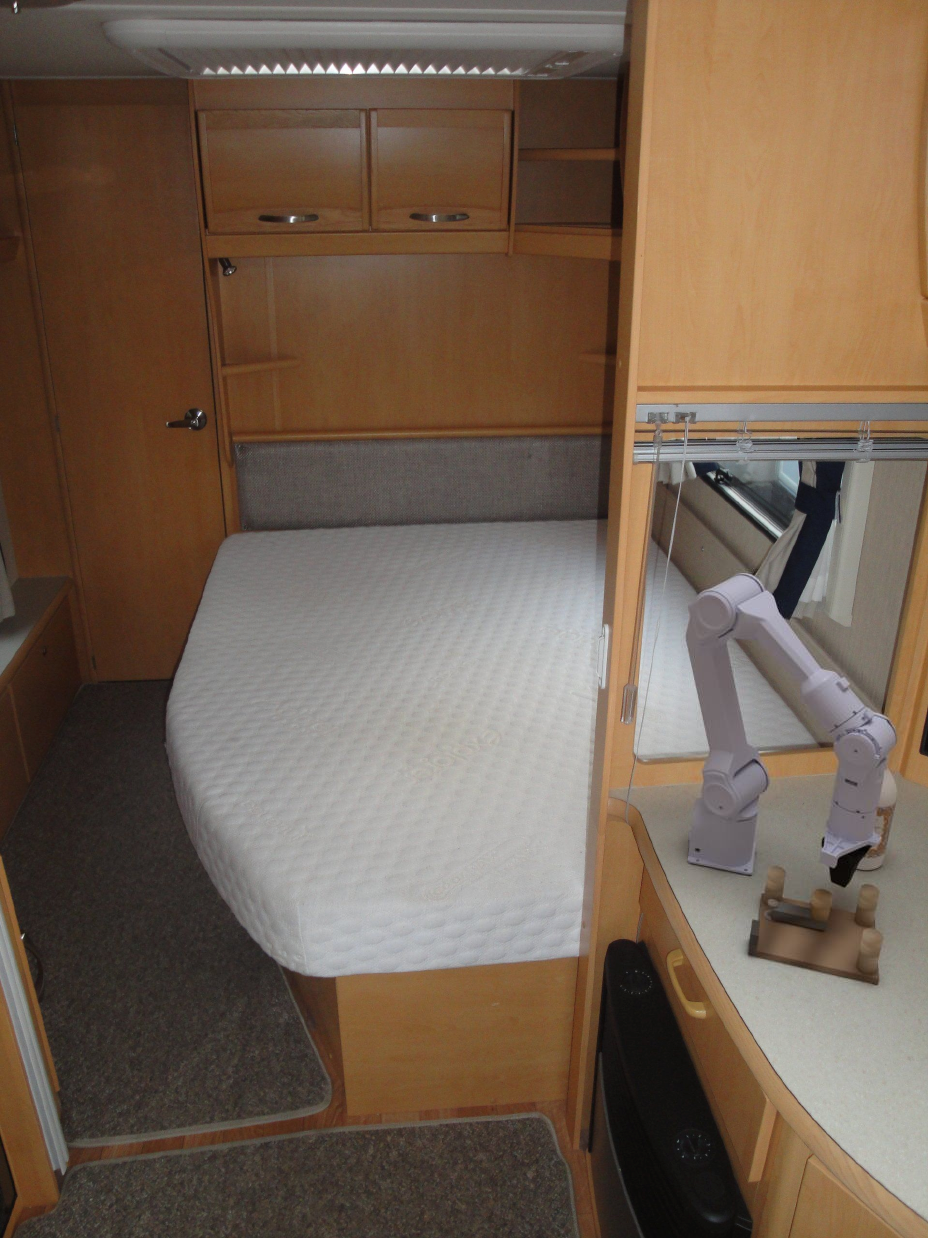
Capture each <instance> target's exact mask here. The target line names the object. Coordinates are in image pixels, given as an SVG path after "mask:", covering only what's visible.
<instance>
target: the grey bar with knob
mask: <svg viewBox="0 0 928 1238" xmlns="http://www.w3.org/2000/svg"><path fill="white" fill-rule="evenodd" d="M832 901H833V894H832V892H831V891H829V890H827V889H825V888H815V889H814V890H813V893H812V898H811V902H810V903H811V908H806V907H802V906H797V905H792V904H787V903H783V902H778V901H777V900H775V899H769V900H768V906H769V907H770V908H772V913H771V919H773V920H778V921H782V922H787V923H791V924H796V925H801V926H805V927H810V928H814V929H819V930H824V931H825V929H826V924H827V919H828V917H829V912H830V907H831V906H832ZM831 908H832V907H831Z"/></svg>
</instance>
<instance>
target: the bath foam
mask: <svg viewBox="0 0 928 1238" xmlns="http://www.w3.org/2000/svg"><path fill="white" fill-rule="evenodd" d="M891 755H892V751H891V752H890V753H889V754H888V755H887V756H886V758H887V761H886V766H885V771H884V780H883V785H882V790H881V795H880V800H879V805H878V809H877V814H876V819H875V824H874V833H875V834H877V835H880V836H881V837H882V839H881V842H880V844H879V845H878V846H876V847H874V846H872V847H871V848H870V850H869V851H868V852H867V853H866V855H865V856H864V857H863V858H862V859H861V860H860V862H859V864H858V866H857V868H856V870H862V871H872V870H875V869H877V868H880V867H881V866H882V865H883V863H884V860H885V855H886V851H887V846H888V841H889V838H890V833H891V827H892V823H893V817H894V813H895V808H896V805H897V801H898V799H897V798H898V788H897V783H896V780H895V778H894V776H893V774H892V773H891V771H890V769H889V764H890V758H891Z"/></svg>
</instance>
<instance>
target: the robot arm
mask: <svg viewBox="0 0 928 1238" xmlns="http://www.w3.org/2000/svg"><path fill="white" fill-rule="evenodd" d="M774 596H775V595H773V594H772V593H771V592H770V591H768V590H766V588H765V586H764V584H763V583H762V582H761V580H759V579H758V577H756V576H755V575H753V574H750V573H746V572H743V573H742V572H740V573H736V574H734V575H732V576H731V577H730V578H728V579H726V580H725V581H723V582H721V583H718V584H717V585H715V586H713V587H711V588H708V589H704V590H703V591H701V592H699V594H697V595H696V597H695V598H694V599H693V600H692V601H691V602H690V603H689V604H688V606H687V608H688V612H689V620H688V624H687V629H686V633H685V643H686V647H687V653H688V656H689V662H690V665H691V670H692V675H693V679H694V685H695V689H696V693H697V694H696V695H697V698H698V703H699V706H700V707H699V708H700V712H701V715H702V716H701V717H702V721H703V726H704V730H705V731H704V732H705V735H706V736H705V737H706V739H707V745H708V750H709V751H708V754H707V757H706V759H705V762H704V764H703V767H702V770H701V774H702V778H703V779H702V781H703V782H702V787H701V790H700V792H701V797H695V802H694V807H693V812H692V819H691V827H690V829H689V833H688V839H687V840H688V842H689V844H688V845H689V846H688V855H687V862H688V863H690V864H695V865H698V866H699V865H700V866H704V867H709V868H714V869H718V870H724V871H729V872H733V873H738V874H739V873H740V874H743V875H747V876H750V875H751V876H752V875H753V872H754V862H755V855H756V854H755V853H756V846H757V845H756V844H757V843H756V842H755V837H756V835H755V834H756V828H757V820H758V816H759V815H758V814H759V806H760V805H759V801H760V795H762V794H764V793H765V792H766V791H767V790H768V788H769V787H770V783H771V781H770V780H771V777H770V774H769V771H768V769H767V767H766V766H765V764H764V763H763V761H762V760H761V756H760V753H759V749H758V748H756V747H754V746H753V745H751V744H749V743H748V740H747V735H746V731H745V726H744V721H743V717H742V710H741V705H740V701H739V697H738V692H737V687H736V682H735V677H734V672H733V669H732V667H733V666H732V663H731V662H732V661H731V658H730V654H729V649H728V643H727V642H728V640H729V639H730V638H732V639H736V640H737V639H739V640H746V641H755V642H757V643H760V645H761V646H762V647H764V649H765V650H766V651H767V652H768V653H770V655H771V656H772V657H773V658H774V659H775V660H776V661H777V663H779V664H780V665H781V666H782V668H783V669H784V670H786V672H787V673H788V674H789V675H790V676H791V677H792V678H793V679H794V680H795V682H797V684H799V687H800V688H799V699H800V700H801V702H802V703H803V704H804V705H805V706H806V707H807V708H808V710H809V711H810V712H811V713H812V715H814V717H815V718H816V719H817V721H818V722H819V723H820V724H821V725H822V726H823V727H824V729H825V730H826V731H827V732H828V734H829V735H830V736H831V737H832V739H833V740H835V741H834V742H833V751H834V754H835V756H836V758H837V760H838V764H837V769H836V774H835V780H834V785H833V790H832V791H833V792H832V797H831V801H830V802H831V803H830V808H829V815H828V819H827V820H826V822H825V827H824V828H825V829H824V836H822V839H821V848H822V849H821V851H820V855H819V860H818V862H819V864H823V865H824V866H827V867H828V868H829V877H830V878H829V879H830V882H831V883H832V884H835V885H837V886H839V887H841V888H845V889H846V887H848V885H849V884H850V882H851V881H852V879H853V877H854V875H855V872H856V870H857V869H856V868H857V866H858V864H859V862H860V860H861V859H862V858H863V857H864V856H865V855H866V853H867V852H868V851H869V850H870V848H871V847H872V846H874V847H876V846H878V845H879V844H880V842H881V839H882V837H881V836H880V835H877V834H875V833H874V824H875V819H876V814H877V809H878V805H879V800H880V795H881V790H882V785H883V780H884V771H885V766H886V761H887V758H886V756H887V755H888V754H889V753H890V752H891V753H892V751H893V750H894V749H895V747H896V746H897V743H898V733H897V730H896V727H895V726H894V724H893V723H892V721H891V719H890V718H889V717H888V716H886V715H884V714H881V713H879V712H875V711H873V710H872V709H871V708H870V707H867V706H866V705H865V704H864V703H863V701H861V700H860V699H859V697H858V696H857V695H856V694H855V693H854V691H853V690H852V689H851V688H850V686H851V683H850V682H849V681H848V680H847V678H846V677H840V675H839V674H838V673H837V671H833V670H828V669H823V668H821V666H820V665H819V664H818V662H817V661H816V660H815V659H814V657H813V655H812V654H811V653H810V652H809V651H808V649H807V648H806V646H805V645H804V644H803V642H802V641H801V640H800V638H799V637H798V636H797V635H796V633H795V632H794V631H793V629H792V628H791V627H790V625H789V623H788V622H787V620H785V619H784V617H783V616H782V614H781V613H780V612H779V609H778V606H777V603H776V600H775V599H776V598H775V597H774Z"/></svg>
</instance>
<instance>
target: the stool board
mask: <svg viewBox="0 0 928 1238" xmlns="http://www.w3.org/2000/svg"><path fill="white" fill-rule="evenodd" d="M786 875H787V871H786V870H785V869H784V867H781V866H779V865H771V866H769V867H768V868H767V874H766V881H765V886H764V892H761V895H760V904H759V915H758V920H757V919H754V918H753V919H752V920H751V927H750V932H749V938H748V939H749V940H748V948H747V949H748V950H747V955H748V956H750V957H756V958H760V959H765V960H769V961H773V962H777V963H782V964H786V965H790V966H794V967H798V968H802V969H808V970H812V971H816V972H819V973H820V972H821V973H826V974H830V975H834V976H837V977H844V978H847V979H852V980H855V981H861V982H865V983H868V984H873V985H876V986H879V982H880V973H879V970H880V969H879V961H880V960H879V958H880V955H881V950H882V947H883V942H884V935H883V933H882V932H881V931H880V930H877V928H876V911H877V907H878V902H879V897H880V894H881V893H880V889H879V888H878V887H877V886H875V885H873V884H870V883H869V884H868V883H864V884H862V885H861V886H860V888H859V894H858V897H857V902H856V909H855V912H854V911H850V910H845V909H840V908H835V907H830V912H829V917H828V919H827V924H826V929H825V931H824V930H819V929H814V928H810V927H805V926H801V925H796V924H791V923H787V922H782V921H778V920H773V919H771V913H772V908H770V907H769V906H768V900H769V899H775V900H777V901H778V902H783V903H787V904H792V905H797V906H802V907H806V908H811V903H812V902H808V901H807V902H806V901H802V900H797V899H793V898H788V897H783V894H784V888H785V881H786V877H787V876H786Z"/></svg>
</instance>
